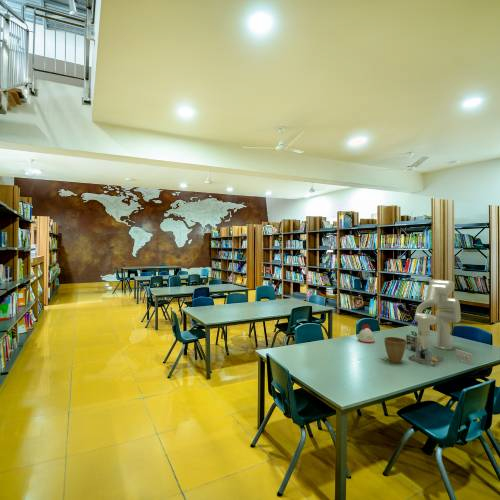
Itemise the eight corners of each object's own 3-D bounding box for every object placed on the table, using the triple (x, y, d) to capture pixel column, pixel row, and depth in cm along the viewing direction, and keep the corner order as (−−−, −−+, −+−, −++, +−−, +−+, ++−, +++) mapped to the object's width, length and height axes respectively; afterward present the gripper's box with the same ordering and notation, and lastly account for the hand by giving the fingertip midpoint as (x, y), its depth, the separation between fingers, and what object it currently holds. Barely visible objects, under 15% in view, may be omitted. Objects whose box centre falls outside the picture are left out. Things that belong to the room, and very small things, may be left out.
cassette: (472, 364, 224) (473, 354, 224) (471, 365, 223) (471, 354, 223) (456, 359, 235) (456, 348, 235) (455, 359, 234) (455, 349, 234)
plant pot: (398, 366, 221) (398, 343, 221) (379, 360, 233) (379, 338, 233) (410, 362, 229) (410, 340, 229) (392, 356, 241) (392, 335, 241)
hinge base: (445, 360, 232) (445, 356, 232) (434, 366, 221) (434, 362, 221) (421, 353, 246) (421, 350, 246) (408, 359, 235) (408, 355, 235)
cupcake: (354, 339, 285) (354, 323, 284) (367, 338, 289) (367, 322, 289) (364, 344, 271) (364, 326, 271) (378, 342, 275) (378, 325, 275)
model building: (423, 350, 254) (423, 332, 254) (415, 351, 251) (415, 333, 251) (414, 347, 263) (414, 329, 263) (405, 348, 260) (405, 330, 260)
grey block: (417, 356, 235) (417, 347, 235) (432, 360, 227) (432, 350, 227) (415, 357, 233) (415, 347, 233) (430, 361, 225) (430, 351, 225)
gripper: (423, 330, 238) (423, 354, 238) (413, 333, 228) (413, 359, 228) (434, 332, 232) (434, 357, 232) (423, 336, 222) (423, 362, 222)
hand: (423, 357), depth 230 cm, fingers closed on grey block, 3 cm apart
